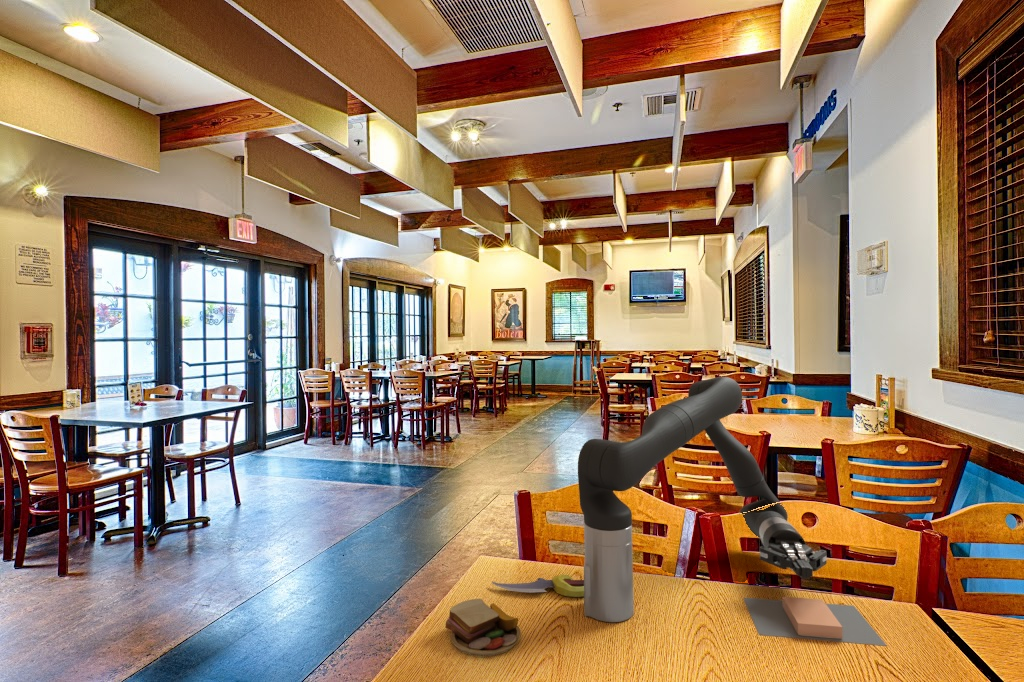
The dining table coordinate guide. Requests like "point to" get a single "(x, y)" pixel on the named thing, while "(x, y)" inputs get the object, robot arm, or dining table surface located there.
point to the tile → (812, 617)
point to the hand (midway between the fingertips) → (806, 573)
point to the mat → (777, 623)
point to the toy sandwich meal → (482, 628)
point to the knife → (559, 583)
